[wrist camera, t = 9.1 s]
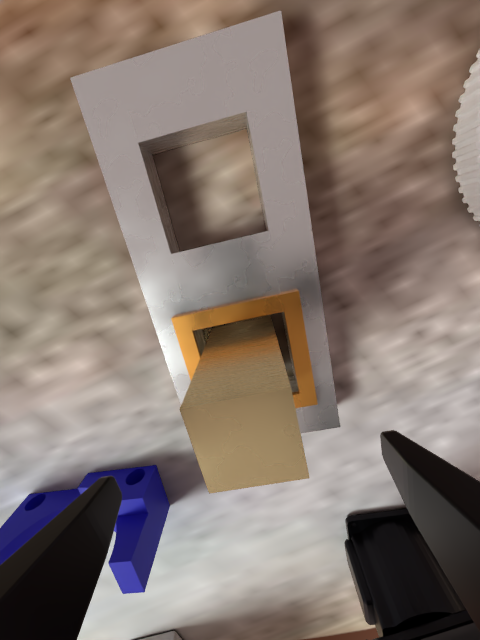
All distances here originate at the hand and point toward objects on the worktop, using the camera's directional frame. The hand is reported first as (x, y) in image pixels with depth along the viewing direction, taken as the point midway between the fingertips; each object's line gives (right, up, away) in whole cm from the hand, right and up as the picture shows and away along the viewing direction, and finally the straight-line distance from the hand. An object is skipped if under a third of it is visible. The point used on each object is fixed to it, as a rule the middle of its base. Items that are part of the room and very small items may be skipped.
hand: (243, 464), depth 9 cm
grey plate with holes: (-1, +8, +8) cm, 11 cm away
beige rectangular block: (0, +3, +10) cm, 10 cm away
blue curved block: (-12, -10, +14) cm, 22 cm away
